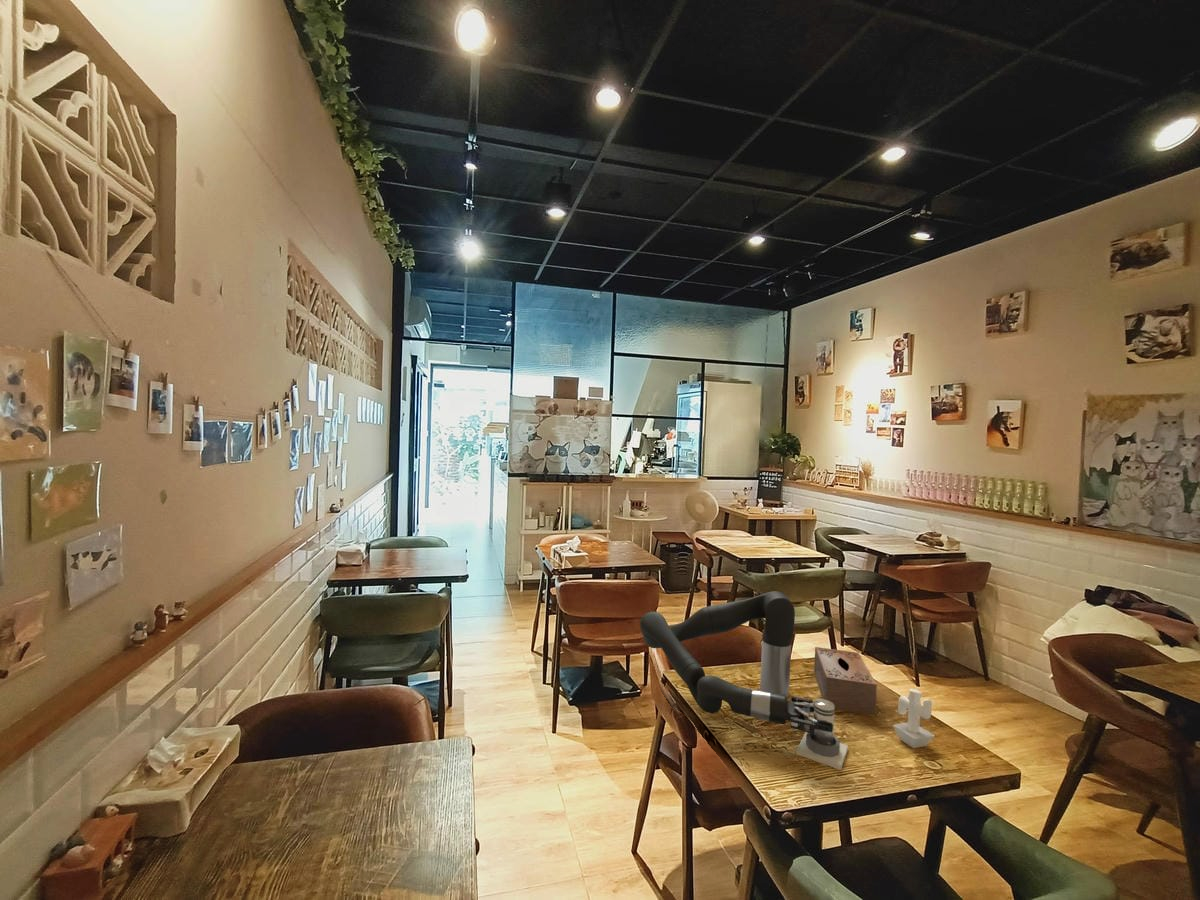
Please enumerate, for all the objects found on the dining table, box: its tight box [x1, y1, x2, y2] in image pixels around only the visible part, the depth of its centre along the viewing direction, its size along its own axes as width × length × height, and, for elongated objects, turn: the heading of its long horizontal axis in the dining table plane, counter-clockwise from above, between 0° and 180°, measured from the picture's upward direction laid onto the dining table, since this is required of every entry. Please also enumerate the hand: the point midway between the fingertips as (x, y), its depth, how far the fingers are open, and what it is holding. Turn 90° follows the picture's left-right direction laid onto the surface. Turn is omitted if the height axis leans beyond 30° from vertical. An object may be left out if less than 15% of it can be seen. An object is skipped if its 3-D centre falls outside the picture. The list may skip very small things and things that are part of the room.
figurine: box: [892, 688, 935, 749], centre depth 146 cm, size 7×9×15 cm
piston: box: [813, 698, 836, 746], centre depth 140 cm, size 5×5×12 cm
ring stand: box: [795, 732, 849, 771], centre depth 140 cm, size 11×11×4 cm
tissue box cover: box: [813, 646, 878, 716], centre depth 174 cm, size 26×14×10 cm, turn 165°
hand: (831, 719), depth 139 cm, fingers open, 8 cm apart
